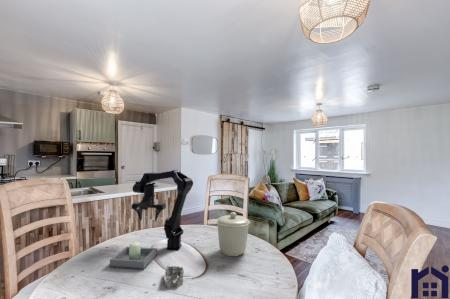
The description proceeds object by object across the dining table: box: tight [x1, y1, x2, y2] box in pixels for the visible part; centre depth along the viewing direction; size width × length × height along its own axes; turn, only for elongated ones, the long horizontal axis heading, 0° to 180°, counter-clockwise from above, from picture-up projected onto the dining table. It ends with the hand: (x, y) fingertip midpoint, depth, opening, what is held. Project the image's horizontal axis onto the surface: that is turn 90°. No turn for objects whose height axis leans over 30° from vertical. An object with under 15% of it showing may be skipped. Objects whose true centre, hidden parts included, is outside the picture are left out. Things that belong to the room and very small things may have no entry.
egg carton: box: [163, 265, 185, 288], centre depth 89 cm, size 11×8×4 cm
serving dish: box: [109, 246, 158, 271], centre depth 104 cm, size 16×14×4 cm
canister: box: [215, 211, 251, 257], centre depth 116 cm, size 18×18×21 cm
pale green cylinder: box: [128, 242, 142, 260], centre depth 104 cm, size 5×5×7 cm
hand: (148, 220), depth 128 cm, fingers open, 9 cm apart
